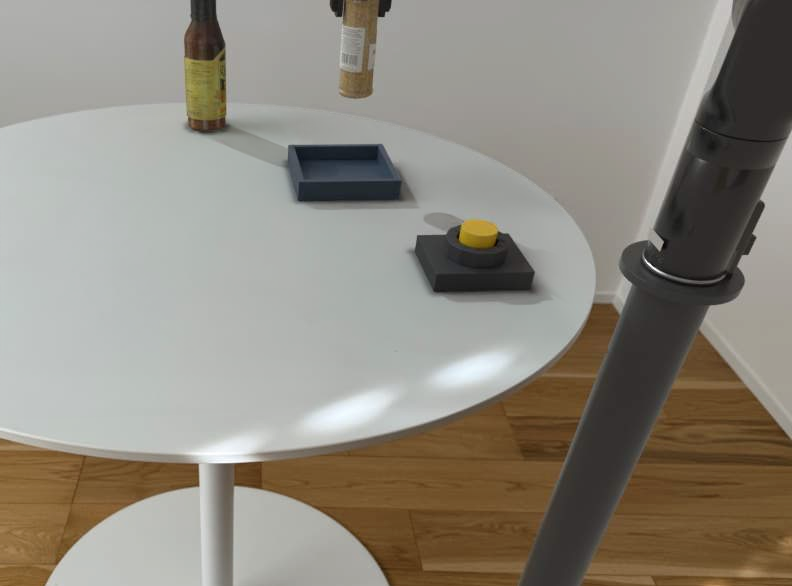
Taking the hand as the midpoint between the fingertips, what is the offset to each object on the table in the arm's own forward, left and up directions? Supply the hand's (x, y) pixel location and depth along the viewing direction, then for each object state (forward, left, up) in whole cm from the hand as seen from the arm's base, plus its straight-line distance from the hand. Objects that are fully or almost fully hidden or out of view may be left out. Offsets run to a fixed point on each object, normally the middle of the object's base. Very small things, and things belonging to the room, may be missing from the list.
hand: (359, 15), depth 95 cm
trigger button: (-11, +25, -17) cm, 32 cm away
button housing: (-11, +25, -21) cm, 34 cm away
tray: (0, 0, -21) cm, 21 cm away
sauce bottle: (+18, -21, -21) cm, 35 cm away
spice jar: (0, 0, -10) cm, 10 cm away
